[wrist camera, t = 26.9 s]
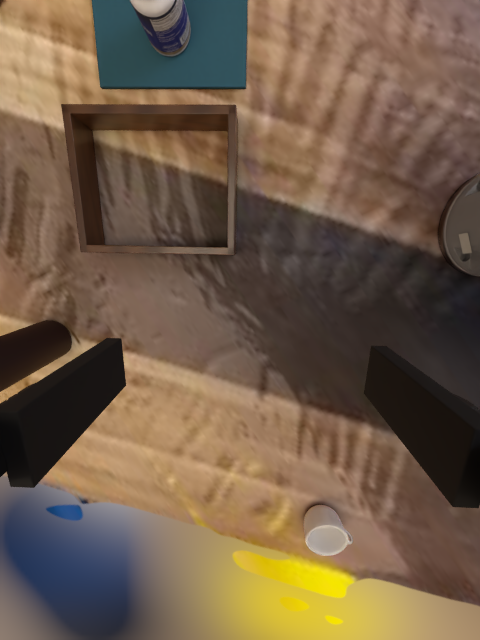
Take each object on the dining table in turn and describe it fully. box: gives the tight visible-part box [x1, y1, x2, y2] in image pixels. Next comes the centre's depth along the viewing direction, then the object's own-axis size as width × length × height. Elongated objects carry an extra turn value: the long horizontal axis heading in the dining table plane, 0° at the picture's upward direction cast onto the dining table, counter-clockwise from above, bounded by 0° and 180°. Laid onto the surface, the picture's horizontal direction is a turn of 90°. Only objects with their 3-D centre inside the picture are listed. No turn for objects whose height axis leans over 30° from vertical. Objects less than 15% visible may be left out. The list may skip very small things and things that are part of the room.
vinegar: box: [0, 320, 72, 392], centre depth 38 cm, size 7×7×20 cm
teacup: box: [304, 505, 353, 556], centre depth 53 cm, size 10×8×5 cm
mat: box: [92, 0, 247, 89], centre depth 35 cm, size 20×12×1 cm, turn 89°
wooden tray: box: [61, 104, 238, 255], centre depth 38 cm, size 22×18×5 cm
